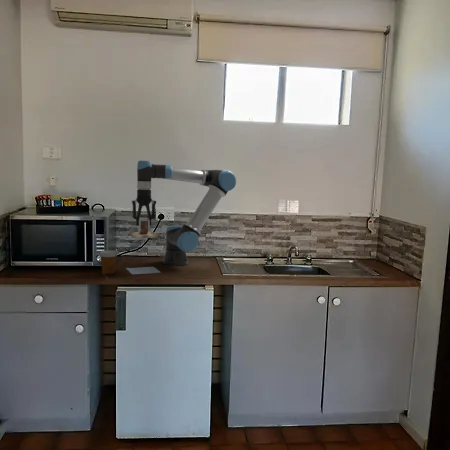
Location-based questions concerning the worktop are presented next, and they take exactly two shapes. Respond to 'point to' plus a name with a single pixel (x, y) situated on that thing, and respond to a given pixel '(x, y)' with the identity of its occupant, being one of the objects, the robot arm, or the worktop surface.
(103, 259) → the disposable coffee cup
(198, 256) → the worktop surface
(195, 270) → the worktop surface
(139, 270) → the mat
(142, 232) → the lid
